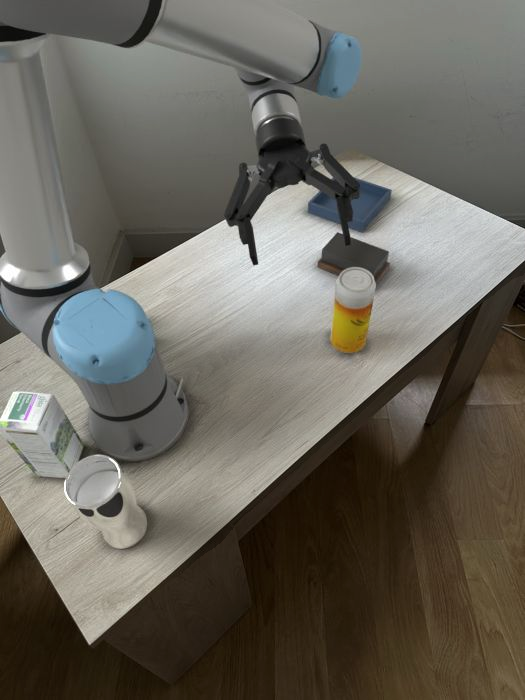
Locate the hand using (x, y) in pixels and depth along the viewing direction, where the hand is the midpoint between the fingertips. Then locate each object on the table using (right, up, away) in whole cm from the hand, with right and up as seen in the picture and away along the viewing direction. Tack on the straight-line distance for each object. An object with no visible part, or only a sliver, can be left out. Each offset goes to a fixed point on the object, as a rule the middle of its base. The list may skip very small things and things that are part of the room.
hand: (300, 251), depth 74 cm
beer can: (+9, -13, +16) cm, 22 cm away
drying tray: (+14, +17, +39) cm, 45 cm away
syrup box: (-36, -31, +4) cm, 47 cm away
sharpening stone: (+12, +2, +27) cm, 30 cm away
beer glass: (-24, -38, -3) cm, 46 cm away
